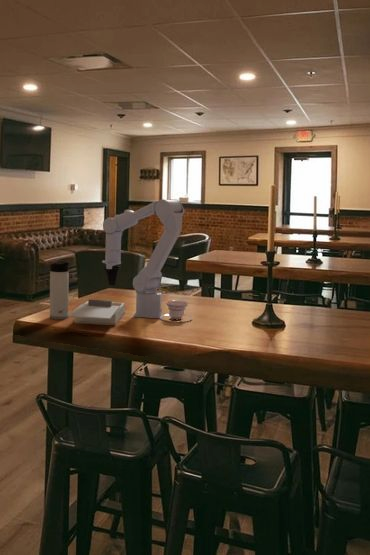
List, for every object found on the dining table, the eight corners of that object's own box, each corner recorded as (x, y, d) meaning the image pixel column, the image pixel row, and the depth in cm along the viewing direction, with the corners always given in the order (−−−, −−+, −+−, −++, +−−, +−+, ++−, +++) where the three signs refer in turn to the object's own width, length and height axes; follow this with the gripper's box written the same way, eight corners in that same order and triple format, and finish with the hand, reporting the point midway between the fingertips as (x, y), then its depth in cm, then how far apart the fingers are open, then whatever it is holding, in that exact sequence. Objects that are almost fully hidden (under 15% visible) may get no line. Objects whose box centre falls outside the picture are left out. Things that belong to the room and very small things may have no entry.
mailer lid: (120, 307, 188) (120, 300, 188) (109, 319, 170) (109, 312, 170) (81, 305, 189) (81, 298, 188) (67, 317, 171) (67, 309, 170)
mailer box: (124, 313, 198) (124, 303, 197) (115, 325, 180) (115, 313, 179) (87, 311, 198) (87, 300, 198) (74, 323, 181) (74, 311, 180)
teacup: (188, 324, 186) (189, 307, 185) (155, 321, 189) (156, 304, 188) (195, 317, 198) (196, 301, 197) (164, 314, 200) (164, 298, 199)
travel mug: (64, 320, 183) (65, 263, 180) (46, 318, 185) (47, 261, 181) (71, 316, 189) (72, 261, 186) (54, 314, 191) (55, 259, 187)
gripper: (106, 247, 207) (105, 281, 210) (98, 251, 193) (97, 287, 195) (124, 248, 207) (123, 282, 209) (117, 252, 193) (116, 288, 195)
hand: (112, 285), depth 202 cm, fingers closed
